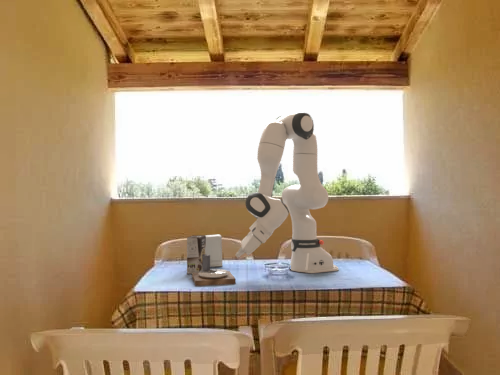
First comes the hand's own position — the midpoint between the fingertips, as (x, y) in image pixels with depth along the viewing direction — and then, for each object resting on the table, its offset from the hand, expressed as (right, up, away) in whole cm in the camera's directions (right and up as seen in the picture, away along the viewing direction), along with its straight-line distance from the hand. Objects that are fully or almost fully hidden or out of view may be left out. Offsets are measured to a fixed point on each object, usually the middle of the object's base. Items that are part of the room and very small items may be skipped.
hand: (236, 256), depth 189 cm
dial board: (-10, -9, -4) cm, 14 cm away
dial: (-10, -7, -4) cm, 13 cm away
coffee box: (-18, -9, +13) cm, 25 cm away
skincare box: (-12, -9, +27) cm, 31 cm away
